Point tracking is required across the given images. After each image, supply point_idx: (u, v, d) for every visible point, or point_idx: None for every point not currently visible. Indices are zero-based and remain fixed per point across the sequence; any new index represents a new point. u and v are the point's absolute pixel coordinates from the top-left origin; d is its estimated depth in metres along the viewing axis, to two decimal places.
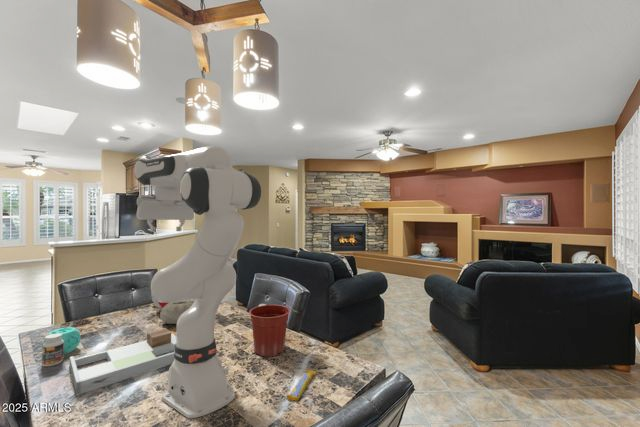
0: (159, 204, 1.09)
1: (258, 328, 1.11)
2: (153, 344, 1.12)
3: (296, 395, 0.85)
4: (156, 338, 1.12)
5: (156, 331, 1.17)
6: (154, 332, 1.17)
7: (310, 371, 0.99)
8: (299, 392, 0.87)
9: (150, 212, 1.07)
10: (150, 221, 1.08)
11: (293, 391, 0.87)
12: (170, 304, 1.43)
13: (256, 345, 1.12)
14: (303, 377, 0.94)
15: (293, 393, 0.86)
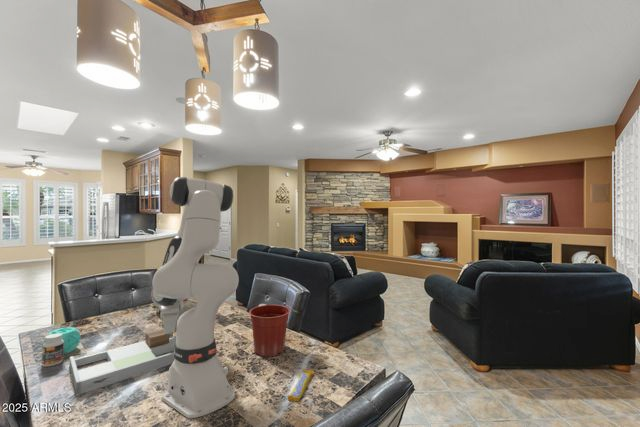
0: None
1: (258, 328, 1.11)
2: (151, 344, 1.11)
3: (297, 396, 0.85)
4: (154, 338, 1.12)
5: (154, 332, 1.17)
6: (152, 332, 1.16)
7: (308, 371, 0.99)
8: (300, 392, 0.87)
9: None
10: None
11: (294, 392, 0.87)
12: None
13: (256, 345, 1.12)
14: (302, 377, 0.94)
15: (294, 393, 0.86)
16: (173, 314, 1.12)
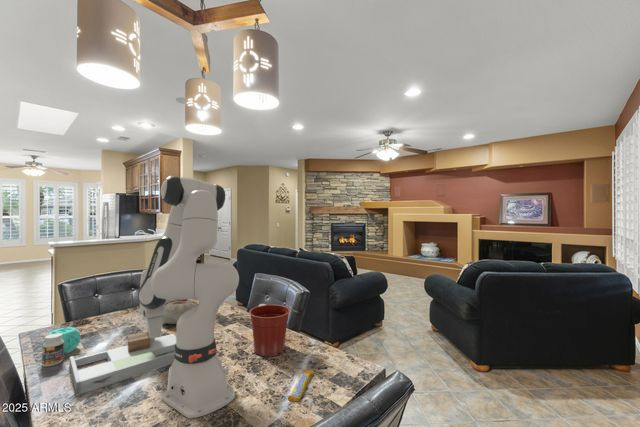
0: None
1: (258, 328, 1.11)
2: (130, 349, 1.07)
3: (298, 396, 0.85)
4: (133, 342, 1.08)
5: (136, 335, 1.13)
6: (134, 335, 1.13)
7: (308, 371, 0.99)
8: (300, 392, 0.87)
9: (145, 319, 1.18)
10: None
11: (294, 392, 0.87)
12: (170, 304, 1.43)
13: (256, 345, 1.12)
14: (302, 377, 0.94)
15: (294, 393, 0.86)
16: (159, 317, 1.09)
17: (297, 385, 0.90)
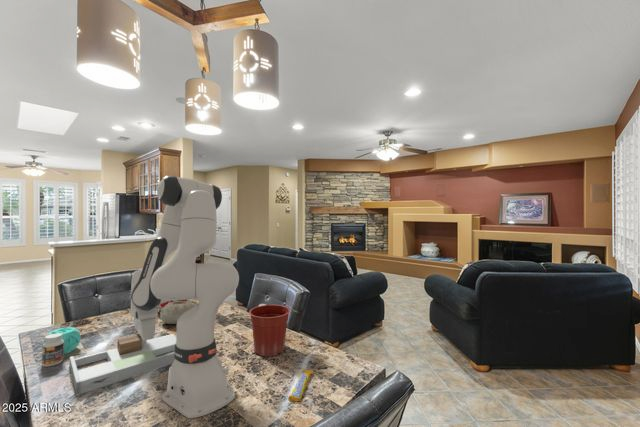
0: None
1: (258, 328, 1.11)
2: (121, 351, 1.05)
3: (298, 396, 0.85)
4: (124, 345, 1.06)
5: (127, 337, 1.11)
6: (124, 338, 1.10)
7: (307, 371, 0.99)
8: (300, 392, 0.87)
9: (135, 321, 1.16)
10: None
11: (294, 392, 0.87)
12: (170, 304, 1.43)
13: (256, 345, 1.12)
14: (301, 377, 0.94)
15: (295, 393, 0.86)
16: (152, 318, 1.07)
17: (297, 385, 0.90)
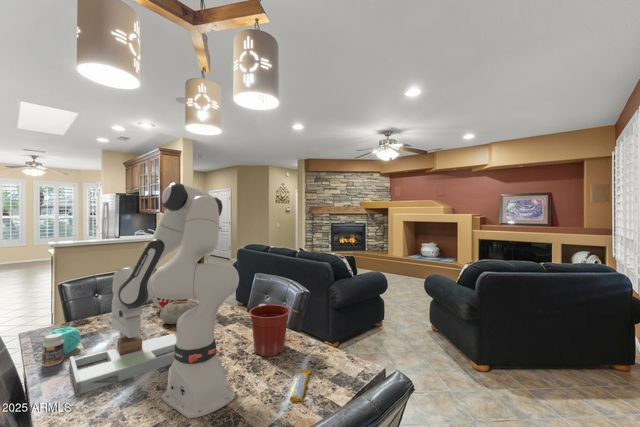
0: None
1: (258, 328, 1.11)
2: (121, 352, 1.05)
3: (300, 396, 0.85)
4: (125, 345, 1.06)
5: (127, 338, 1.10)
6: (125, 338, 1.10)
7: (305, 371, 0.99)
8: (301, 393, 0.87)
9: (114, 321, 1.16)
10: (119, 332, 1.14)
11: (295, 392, 0.86)
12: (170, 304, 1.43)
13: (256, 345, 1.12)
14: (301, 377, 0.94)
15: (296, 394, 0.86)
16: (137, 316, 1.09)
17: (297, 385, 0.90)
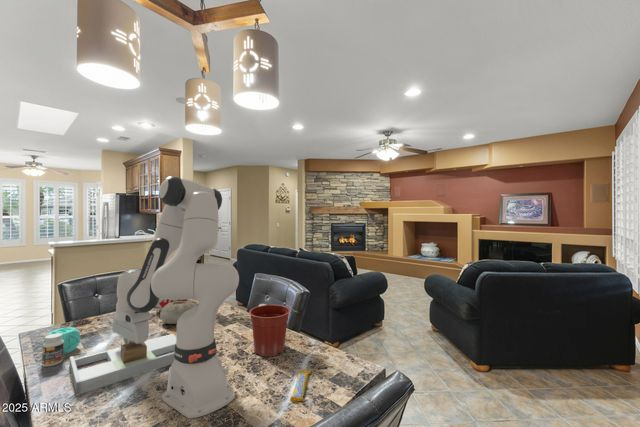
0: (120, 320, 1.08)
1: (258, 328, 1.11)
2: (125, 359, 0.99)
3: (300, 396, 0.85)
4: (129, 353, 1.00)
5: (131, 344, 1.05)
6: (128, 345, 1.05)
7: (304, 371, 0.99)
8: (302, 393, 0.87)
9: (116, 326, 1.10)
10: (123, 338, 1.08)
11: (296, 392, 0.86)
12: (170, 304, 1.43)
13: (256, 345, 1.12)
14: (300, 378, 0.94)
15: (296, 394, 0.85)
16: (144, 321, 1.05)
17: (297, 386, 0.90)
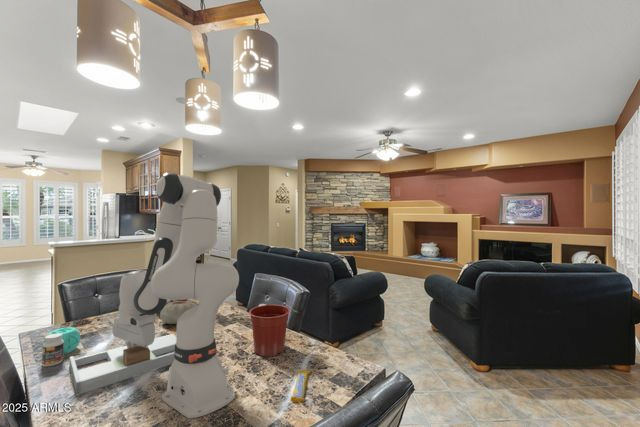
0: (122, 323, 1.05)
1: (258, 328, 1.11)
2: (128, 364, 0.96)
3: (301, 396, 0.85)
4: (131, 357, 0.97)
5: (133, 349, 1.02)
6: (131, 349, 1.01)
7: (304, 371, 0.99)
8: (302, 393, 0.87)
9: (117, 330, 1.06)
10: (126, 342, 1.05)
11: (296, 393, 0.86)
12: (170, 304, 1.43)
13: (256, 345, 1.12)
14: (300, 378, 0.94)
15: (297, 394, 0.85)
16: (150, 323, 1.02)
17: (297, 386, 0.90)
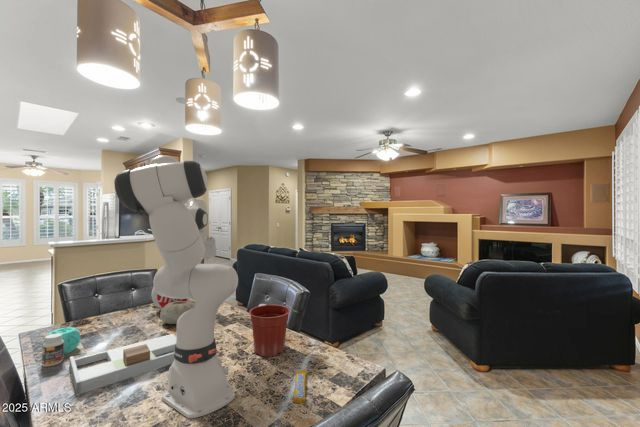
0: None
1: (258, 328, 1.11)
2: (128, 364, 0.96)
3: (302, 396, 0.85)
4: (132, 357, 0.97)
5: (133, 349, 1.01)
6: (131, 349, 1.01)
7: (302, 371, 0.99)
8: (303, 393, 0.87)
9: None
10: None
11: (297, 393, 0.86)
12: (170, 304, 1.43)
13: (256, 345, 1.12)
14: (299, 378, 0.94)
15: (298, 394, 0.85)
16: None
17: (298, 386, 0.89)
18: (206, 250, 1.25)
